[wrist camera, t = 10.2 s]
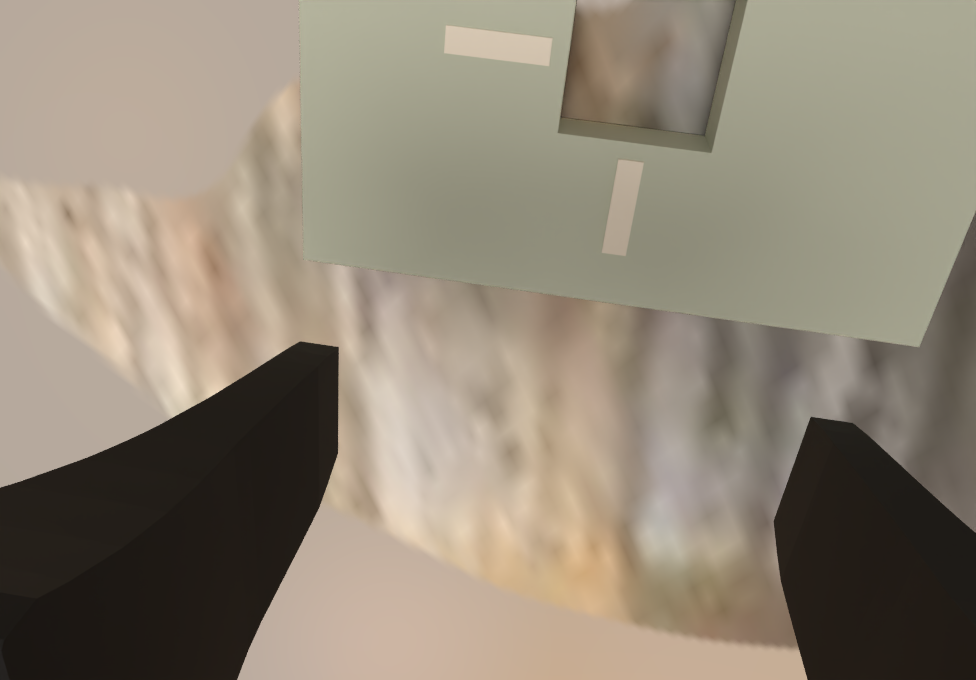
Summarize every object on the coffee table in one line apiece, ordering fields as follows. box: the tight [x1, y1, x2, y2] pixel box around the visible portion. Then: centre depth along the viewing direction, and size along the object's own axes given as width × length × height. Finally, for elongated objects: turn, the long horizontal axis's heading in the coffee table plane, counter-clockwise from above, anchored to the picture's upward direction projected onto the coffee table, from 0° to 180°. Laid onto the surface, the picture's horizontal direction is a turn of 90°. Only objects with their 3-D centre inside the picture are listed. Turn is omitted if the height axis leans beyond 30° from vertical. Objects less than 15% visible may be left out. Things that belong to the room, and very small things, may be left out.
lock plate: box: [299, 0, 976, 347], centre depth 19 cm, size 16×12×2 cm
